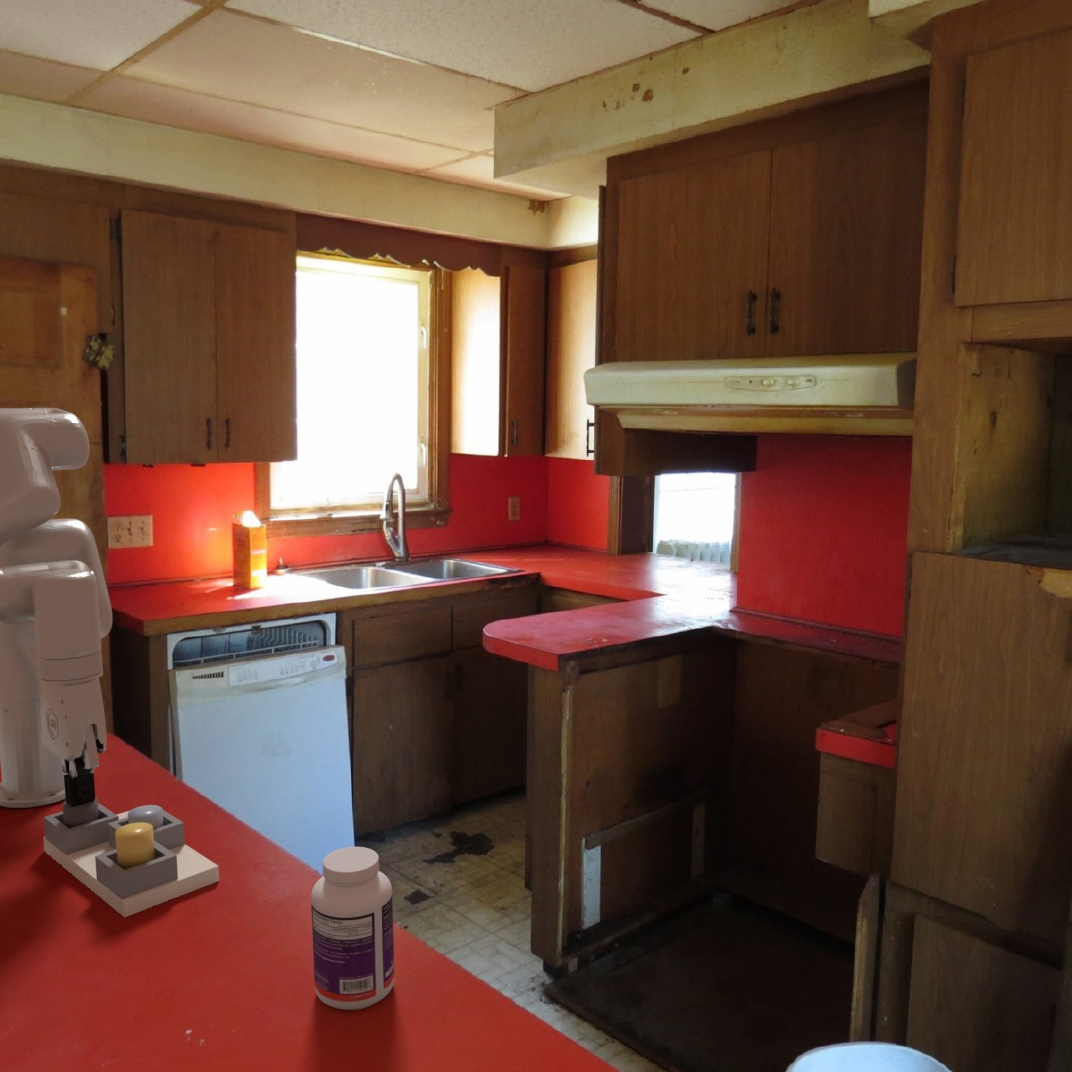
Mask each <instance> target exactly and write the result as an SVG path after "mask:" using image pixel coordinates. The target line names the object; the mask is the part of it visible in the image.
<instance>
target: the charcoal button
mask: <svg viewBox="0 0 1072 1072" xmlns="http://www.w3.org/2000/svg"><path fill="white" fill-rule="evenodd" d="M98 803H99V800H98V797H97V796H95V800H94V801H92V802H89V803H86V804H82V805H79V806H75V807H71V806H70V805H69V804H67V803H66V800H63V802H62V811H63V819H64V825H65V826H66V827H68V828H69V829H70V828H73V827H76V826H79V825H83V824H86V823H89V822H92V821H96V820H99V814H98Z"/></svg>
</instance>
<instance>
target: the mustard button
mask: <svg viewBox="0 0 1072 1072" xmlns="http://www.w3.org/2000/svg"><path fill="white" fill-rule="evenodd" d="M115 835H116V851H117V865H118V866H120V867H121V868H122V869H129V868H132V867H135V866H138V865H140V864H143V863H146V862H149V861H152V860H155V854H154V837H153V826H152V825H151V824H149V823H143V822H139V823H131V824H127V825H124V826H122V827H120V828H119V829H117V830H116V832H115Z"/></svg>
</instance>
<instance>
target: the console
mask: <svg viewBox="0 0 1072 1072" xmlns="http://www.w3.org/2000/svg"><path fill="white" fill-rule="evenodd" d="M129 811H130V810H128V811H124V812H121V813H118V814H116V813H115V812H113V811H111V810H110V809H108V808H107V807H106V806H104V805H103V804H101V803H100V802H98V814H99V820H96V821H92V822H89V823H86V824H83V825H79V826H76V827H73V828H70V829H69V828H68V827H66V826H65V825H64V819H63V810H62V811H58V812H56V813H53V814H52V813H51V814H49V815H46V816H43V822H44V823H43V827H44V837H43V836H42V837H43V839H42V840H43V849H44V850H43V851H45V852H44V853H46V854H47V855H48V856H49V855H50V856H51V857H50V856H49V857H50V858H52V859H53V860H54V861H55V860H56V861H55V862H56V863H58V864H59V865H60V864H61V865H62V866H61V865H60V866H61V867H63V868H64V869H65V871H66V870H67V871H68V872H69V873H70V874H71V873H72V874H71V875H73V876H74V877H75V878H76V879H77V880H78V881H79V882H81V883H82V884H83V885H84V884H85V886H86V887H87V888H88V889H89V888H90V889H89V890H90V891H92V892H93V891H94V892H93V893H94V894H95V895H97V897H99V898H100V897H101V898H102V899H101V898H100V899H101V900H102V901H104V902H105V903H106V904H108V905H109V906H110V907H111V908H112V909H114V910H115V911H116V912H117V913H119V914H120V915H121V916H122V917H123V918H126V917H129V916H132V915H135V914H138V913H140V912H143V911H144V910H145V911H146V910H148V909H150V908H152V906H153V907H155V906H154V905H156V906H158V905H161V904H163V903H165V902H168V900H169V901H170V899H171V900H173V898H174V899H176V898H178V897H181V896H183V895H187V894H189V893H191V892H194V891H197V890H199V889H202V888H205V887H207V886H210V885H212V884H214V883H217V882H219V881H220V872H219V871H220V868H219V864H217V863H215V862H214V861H212V860H210V859H209V858H207V857H205V856H204V855H203V854H201V853H199V852H198V851H197V850H195V849H193V848H191V847H190V846H189V845H187V844H186V842H185V840H186V839H185V824H184V822H183V821H182V820H180V819H178V818H176V816H173V815H172V814H171V813H168V811H166V810H164V809H162V812H163V826H162V827H159V828H156V829H153V837H154V854H155V860H152V861H149V862H146V863H143V864H140V865H138V866H135V867H132V868H129V869H122V868H121V867H120V866H118V865H117V851H116V835H115V832H116V830H117V829H119V828H120V827H122V826H124V825H127V824H128V812H129ZM147 908H148V909H147Z"/></svg>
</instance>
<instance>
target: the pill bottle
mask: <svg viewBox="0 0 1072 1072" xmlns="http://www.w3.org/2000/svg"><path fill="white" fill-rule="evenodd" d="M322 873H323V875H322V876H321V877H320V878H319V879H318V880H317V881H316V882H315V883H314V885H313V887H312V890H311V895H310V903H311V925H312V927H311V929H312V950H313V954H312V956H313V977H314V978H313V979H314V980H313V981H314V982H313V983H314V991H315V993H316V995H317V998H319V1000H320V1001H321V1002H322V1003H324V1004H325V1005H327V1006H329V1007H332V1008H334V1009H338V1010H347V1011H349V1010H350V1011H351V1010H352V1011H354V1010H362V1009H365V1008H367V1007H368V1008H369V1007H370V1006H373V1005H374V1004H376V1003H378V1002H380V1001H382V1000H383V999H384V998H385V997H386V996H388V994H389V993H390V992H391V990H392V988H393V986H394V983H395V954H394V953H395V950H394V949H395V943H394V941H395V940H394V918H393V917H394V913H393V909H394V908H393V907H394V906H393V904H394V903H393V886H392V883H391V881H390V878H388V876H387V875H386V874H385V873H383V872H382V871H380V857H379V854H378V853H377V852H376V851H375V850H374V849H372V848H369V847H363V846H348V847H341V848H339V849H335V850H333V851H331V852H329V853H327V855H325V857H324V858H323V861H322Z"/></svg>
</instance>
